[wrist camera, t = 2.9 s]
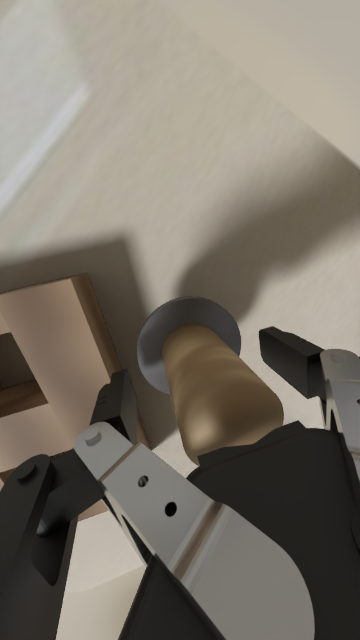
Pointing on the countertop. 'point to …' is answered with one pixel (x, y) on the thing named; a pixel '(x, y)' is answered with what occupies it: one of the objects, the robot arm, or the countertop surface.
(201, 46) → the countertop surface
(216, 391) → the oak peg
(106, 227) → the countertop surface
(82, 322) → the walnut board
